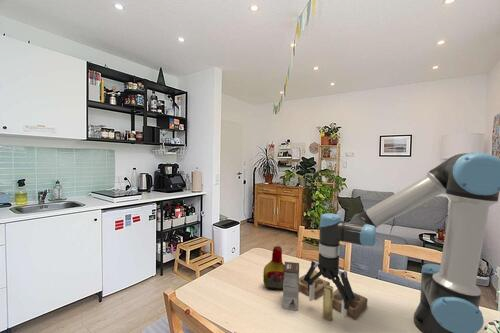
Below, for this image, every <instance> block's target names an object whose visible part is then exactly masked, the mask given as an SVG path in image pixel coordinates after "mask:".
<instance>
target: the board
mask: <svg viewBox="0 0 500 333" xmlns="http://www.w3.org/2000/svg"><path fill="white" fill-rule="evenodd" d="M318 272H319V271H317V270H316V269H315V270H314V272H313V273H312V275H311V277H310V279H311V278H312V277H314V276H315V275H316V274H317V273H318ZM306 274H307V273H305V274H304V275H302V276H299V293H302V294H304V295H305V296H307V297H309V291H308V282H307V281H304V277H305V276H306ZM313 283H315V294H314V299H313V300H315V301H317V300H319V299H320V298H321V297H322V296H323V292H324V285H330V286H331V282H330V281H327V280H326V279H323V278H320V277H318V278H317V279H316V280H315V281H314V282H313Z"/></svg>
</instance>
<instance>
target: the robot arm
mask: <svg viewBox="0 0 500 333" xmlns="http://www.w3.org/2000/svg"><path fill="white" fill-rule="evenodd" d="M443 194H444V195H446V196H447V197H448V198H449V199H450V205H449V210H448V217H447V223H446V230H445V235H444V241H443V248H442V253H441V254H442V255H441V261H440V264H435V263H426V264H423V265H422V266H421V271H420V272H421V275H420V276H421V277H420V278H421V279H420V280H421V281H420V296H419V297H420V300H419V304H418V305H417V307H416V309H415V311H414V313H413V323H414V325H415V326H416V328H417V329H418V330H419V331H420V332H422V333H479V331H481V330H482V328H483V326H484V324H485V321H484V316H483V312H482V311H481V309H480V302H481V299H482V298H481V297H482V289H481V288H480V287H478V285H477V284H476V283H477V277H478V271H479V266H480V260H481V256H482V255H481V254H482V250H483V249H482V248H483V243H484V237H485V231H486V229H487V228H486V227H487V221H488V217H489V215H488V214H489V210H490V206H493V205H495V204H496V203H498V202H499V196H500V158H499V157H498V156H495V155H494V154H490V153H485V152H468V153H466V152H465V153H458V154H455V155H453V156H451V157H449V158H448V159H445V160H444V161H442V163H440V164H438V165H437V166H435V167H434V168H432V169H430V170H429V171H427V173H426V175H425V176H424V177H423V178H421V179H419V180H417V181H415V182H413V183H411V184H410V185H408V186H406V187H405V188H403V189H402V190H399V191H398V192H396V193H394V194H391V196H389V197H387V198H385V199H384V200H382V201H380V202H378V203H377V204H375V205H373V206H372V207H371V206H370V207H369V208H368V209H366V210H364V211H362V212H360V213H357V214H354V215H353V216H352V218H351V219H350V221H343V220H342V218H341V216H340V215H339V214H336V213H332V212H331V213H327V212H326V213H322V214H321V215H320V220H319V235H318V236H319V240H318V261H317V260H316V259H314V260H312V261H311V263H310V267H309V269H308V271H307V272H306V273H305V274H306V276H305V277H304V281H307V282H308V291H309V296H308V297H309V298H308V300H309V302H311V301H313V300H315V299H314V294H315V283H313V282H314V281H315V280H316V279H317V278H320V276H322V277H323V278H324V279H325V278H326V279H327V280H329V281H330V280H331V282H332V283H333V284H334V285H335V287H336V288H337V289H338V290H339V292H340V294H341V295H342V297H343V300H342V308H341V312H340V314H341V315H340V318H342V319H344V318H345V317H346V316H347V315H346V313H347V309H348V308H349V301H350V302H352V301H353V300H354V299H355V296H354V294H353V292H354V291H353V289H352V286H351V283H350V281H349V278H348V272H347V271H346V270H344V271H341V270H340V269H339V268H340V267H339V266H340V244H341V242H342V243H348V244H354V245H360V246H363V247H374V246H375V245H376V240H377V239H376V238H377V234H376V233H377V228H378V227H380V226H382V225H384V224H386V223H388V222H390V221H392V220H394V219H396V218H398V217H400V216H401V215H403V214H405V213H408V212H409V211H411V210H413V209H415V208H417V207H419V206H420V205H422V204H424V203H426V202H428V201H430V200H432V199H434V198H436V197H438V196H440V195H443ZM316 268H318V270H319V271H317V272H318V273H317V274H316V275H315V276H314V277H312V278H311V279H310V277H311V275H312V273H313V272H314V270H315V271H316Z"/></svg>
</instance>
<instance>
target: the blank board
mask: <svg viewBox="0 0 500 333" xmlns="http://www.w3.org/2000/svg"><path fill="white" fill-rule="evenodd" d="M353 294H354V296H355V299H354V300H353V301H352V302H350V301H349V308H348V309H347V313H346V316H347V317H349V318H351V319H354V320H356V319H357V318H358V317H359V316H360V315H361V314H362V313H363V311H365V309H366V308H367V307H368V298H367V297H365V296H363V295H360V294H359V293H357V292H354V291H353ZM342 300H343V297H342V295H341V294H340V292H339V290H338V288H337V289H335V290H333V310H335V311H337V312H339V313H341V308H342Z"/></svg>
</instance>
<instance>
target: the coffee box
mask: <svg viewBox="0 0 500 333" xmlns="http://www.w3.org/2000/svg"><path fill="white" fill-rule="evenodd" d="M299 278H300V262H293V261H284V274H283V290H282V309H284V310H293V311H299V293H300V291H299Z"/></svg>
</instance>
